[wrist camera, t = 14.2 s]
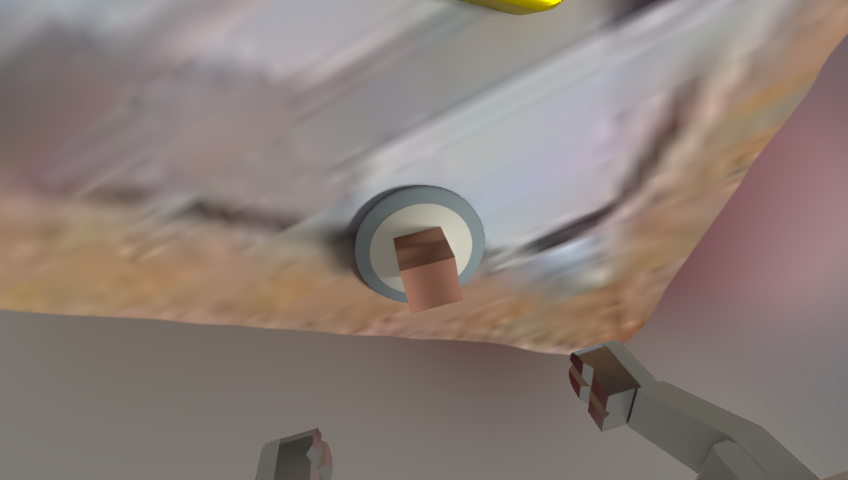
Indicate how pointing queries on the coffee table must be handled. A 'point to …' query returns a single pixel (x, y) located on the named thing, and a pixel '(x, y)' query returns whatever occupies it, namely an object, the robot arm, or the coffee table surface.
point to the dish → (412, 215)
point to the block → (427, 269)
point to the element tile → (517, 5)
